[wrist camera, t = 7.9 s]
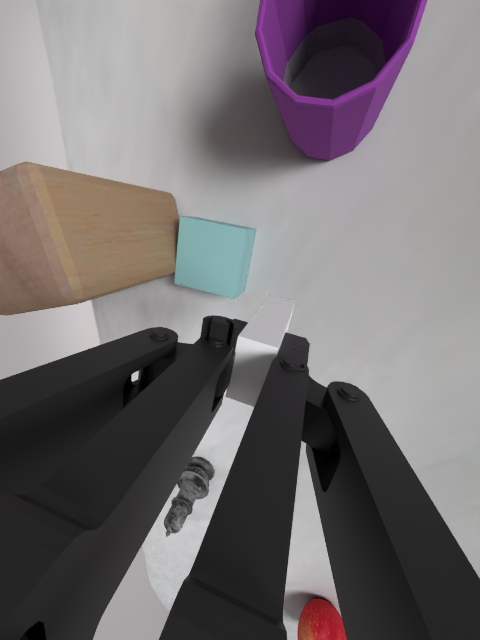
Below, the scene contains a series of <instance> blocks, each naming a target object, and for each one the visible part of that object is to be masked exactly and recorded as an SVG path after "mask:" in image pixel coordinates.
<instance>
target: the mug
mask: <svg viewBox="0 0 480 640" xmlns="http://www.w3.org/2000/svg"><path fill="white" fill-rule="evenodd" d="M426 3H427V0H261V1H260V7H259V13H258V19H257V25H256V31H255V35H256V39H257V43H258V47H259V51H260V55H261V59H262V63H263V67H264V71H265V75H266V78H267V81H268V84H269V86H270V89H271V91H272V94H273V96H274V99H275V102H276V104H277V107H278V109H279V112H280V114H281V117H282V120H283V122H284V125H285V127H286V130H287V132H288V135H289V137H290V140H291V141H292V142H293V143H294V144H295V145H296V146H297V147H298V148H299V149H300V150H301V151H302V152H303V153H304V154H305V155H306V156H307V157H311V158H317V159H324V160H332V159H334V158H336V157H339V156H341V155H344V154H346V153H348V152H351V151H353V150H354V149H355V148H356V147H357V145H358V144H359V143H360V142H361V141H362V140H363V139H364V137H365V136H366V135H367V134H368V133H369V132H370V131H371V129H372V128H373V126H374V124H375V122H376V120H377V118H378V116H379V113H380V111H381V109H382V107H383V105H384V103H385V101H386V99H387V97H388V95H389V93H390V91H391V89H392V87H393V85H394V83H395V81H396V79H397V76H398V74H399V72H400V70H401V68H402V66H403V64H404V62H405V60H406V58H407V56H408V54H409V52H410V50H411V48H412V46H413V43H414V40H415V37H416V34H417V31H418V28H419V25H420V22H421V19H422V15H423V12H424V9H425V6H426Z"/></svg>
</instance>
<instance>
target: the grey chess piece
mask: <svg viewBox="0 0 480 640" xmlns="http://www.w3.org/2000/svg"><path fill="white" fill-rule="evenodd" d="M187 466H188V468H186V469H185V470H184V471H183V473H182V475H181V477H180V478H179V480H178V482H177V484H178V487H179V488H180V491H179V493H178V495H177V496H176V497H175V498H173V500H172V506H171V508H170V510H169V512H168V514H167V516H166V517H165V520H164V526H165V528H166V530H167V532H166V537H167V536H169V535H170V533H177V532H179V531H180V530H181V528H182V526H183V524H184V522H185V520H186V518H187V515H189V514H191V513H192V506H193V504H194V502H195V500H196V499H202V498H204V497H206V496H207V495H208V492H209V480H211V479H212V478H213V477H214V474H215V470H214V468H213V466H212V464H211V463H210V462H209V461H207V460H206V459H204V458H202V457H193V458H191V459H190V461H189V463H188V464H187Z"/></svg>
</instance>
